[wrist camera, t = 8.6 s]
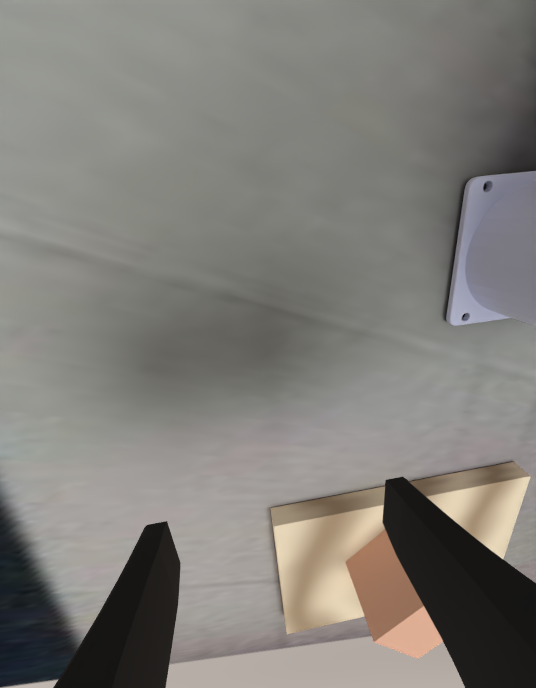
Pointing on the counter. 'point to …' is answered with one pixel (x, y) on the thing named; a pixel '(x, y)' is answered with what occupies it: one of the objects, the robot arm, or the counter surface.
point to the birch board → (366, 523)
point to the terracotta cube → (391, 600)
